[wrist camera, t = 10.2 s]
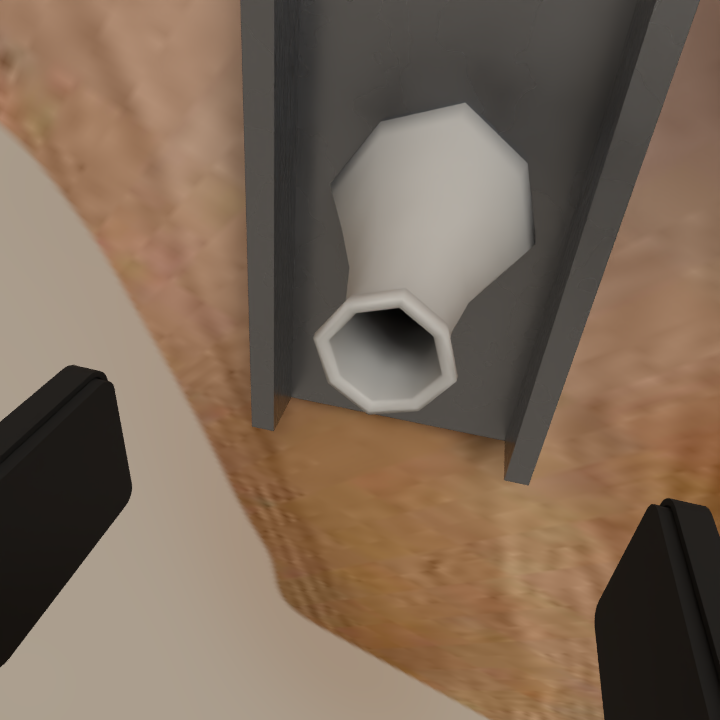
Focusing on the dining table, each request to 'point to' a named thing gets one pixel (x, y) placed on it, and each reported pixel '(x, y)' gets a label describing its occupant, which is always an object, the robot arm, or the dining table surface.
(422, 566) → the dining table surface
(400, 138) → the flask
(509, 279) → the track
